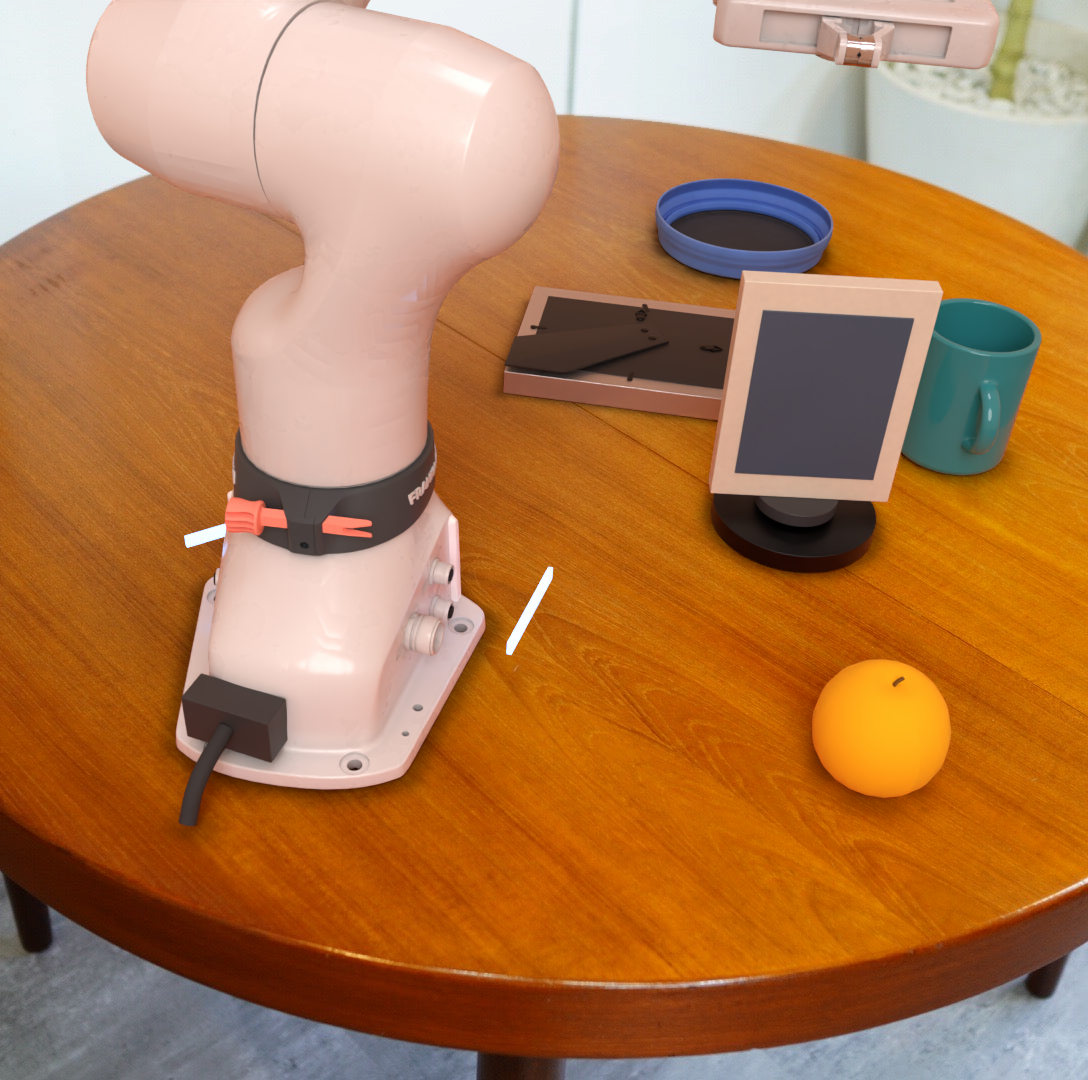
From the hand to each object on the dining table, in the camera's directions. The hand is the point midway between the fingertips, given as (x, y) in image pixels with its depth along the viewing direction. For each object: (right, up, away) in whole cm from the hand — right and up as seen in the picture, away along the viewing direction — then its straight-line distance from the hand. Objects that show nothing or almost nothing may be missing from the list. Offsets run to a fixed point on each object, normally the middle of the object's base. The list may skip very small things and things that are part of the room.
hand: (859, 55), depth 91 cm
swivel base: (-3, -32, +7) cm, 33 cm away
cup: (+11, -27, +16) cm, 33 cm away
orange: (-2, -47, -12) cm, 49 cm away
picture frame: (-14, -18, +25) cm, 34 cm away
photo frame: (-3, -31, +6) cm, 31 cm away
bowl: (-2, -3, +45) cm, 45 cm away
